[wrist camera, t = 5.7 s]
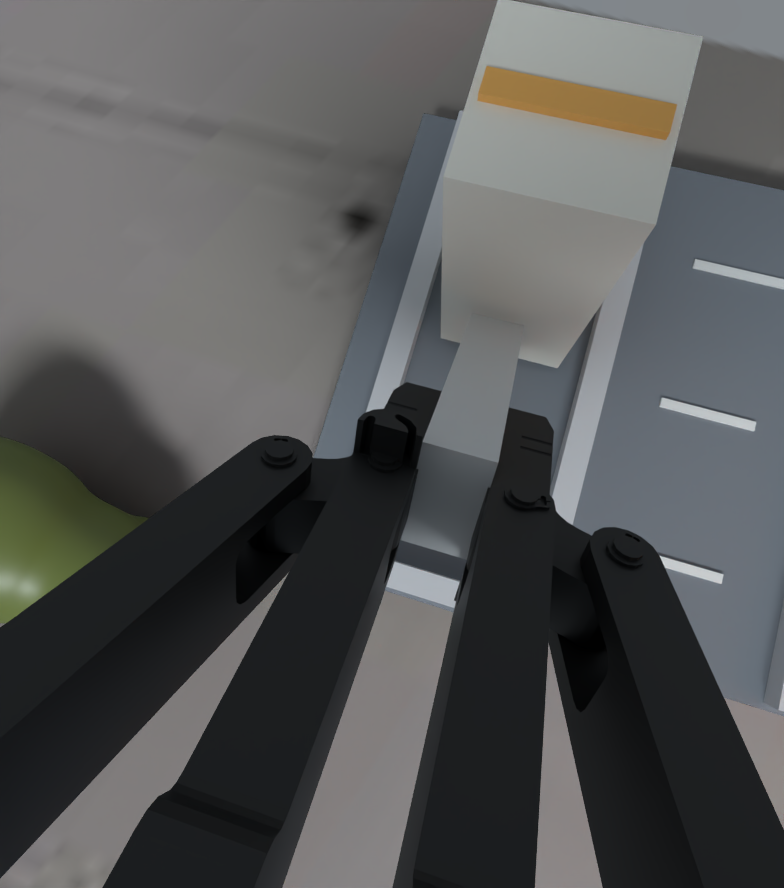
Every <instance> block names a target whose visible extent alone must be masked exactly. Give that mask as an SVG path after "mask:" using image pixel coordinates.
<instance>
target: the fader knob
mask: <svg viewBox="0 0 784 888" xmlns="http://www.w3.org/2000/svg"><path fill="white" fill-rule="evenodd" d="M702 40H703V36H698V35H693V34H687V33H682V32H677V31H671V30H666V29H661V28H655V27H650V26H645V25H639V24H634V23H629V22H623V21H618V20H613V19H607V18H602V17H597V16H591V15H586V14H581V13H575V12H570V11H565V10H559V9H554V8H549V7H543V6H538V5H533V4H527V3H522V2H517V1H511V0H498V2H497V5H496V8H495V11H494V14H493V18H492V21H491V24H490V27H489V31H488V34H487V37H486V40H485V44H484V47H483V50H482V53H481V56H480V60H479V63H478V66H477V69H476V73H475V76H474V79H473V82H472V85H471V89H470V92H469V95H468V98H467V102H466V105H465V108H464V111H463V115H462V118H461V121H460V124H459V127H458V131H457V134H456V137H455V140H454V144H453V147H452V150H451V153H450V156H449V160H448V163H447V166H446V169H445V173H444V176H443V221H442V282H441V338H442V339H446V340H450V341H454V342H458V343H461V340H462V338H463V335H464V332H465V330H466V327H467V325H468V322H469V319H470V317H471V314H472V313H475V314H479V315H483V316H487V317H491V318H495V319H499V320H503V321H507V322H511V323H515V324H519V325H523V326H524V330H523V335H522V341H521V346H520V351H519V356H518V358H519V359H523V360H527V361H531V362H535V363H539V364H542V365H546V366H550V367H554V368H558V367H559V365H560V364H561V362H562V361H563V360H564V358H565V357H566V355H567V354H568V352H569V351H570V349H571V348H572V346H573V345H574V344H575V342H576V341H577V339H578V338H579V336H580V335H581V333H582V332H583V330H584V329H585V327H586V326H587V325H588V323H589V322H590V320H591V319H592V317H593V316H594V314H595V313H596V311H597V310H598V309H599V307H600V306H601V304H602V303H603V301H604V300H605V298H606V297H607V295H608V294H609V293H610V291H611V290H612V288H613V287H614V285H615V284H616V282H617V281H618V279H619V278H620V277H621V275H622V274H623V272H624V271H625V269H626V268H627V266H628V265H629V263H630V262H631V261H632V259H633V258H634V256H635V255H636V253H637V252H638V250H639V249H640V247H641V246H642V245H643V243H644V242H645V240H646V239H647V237H648V236H649V234H650V233H651V231H652V230H653V229H654V227H655V226H656V223H657V219H658V215H659V211H660V207H661V203H662V199H663V195H664V191H665V187H666V183H667V179H668V175H669V171H670V167H671V163H672V159H673V155H674V151H675V147H676V143H677V139H678V135H679V131H680V127H681V123H682V120H683V116H684V112H685V108H686V104H687V100H688V96H689V92H690V88H691V84H692V80H693V76H694V72H695V68H696V64H697V60H698V56H699V52H700V48H701V44H702Z"/></svg>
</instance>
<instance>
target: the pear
mask: <svg viewBox="0 0 784 888" xmlns="http://www.w3.org/2000/svg"><path fill="white" fill-rule="evenodd" d="M148 519H149V518H146V517H140V516H134V515H131V514H128V513H126V512H124V511H122V510H120V509H118V508H116V507H114V506H112V505H110V504H108V503H106V502H104V501H103V500H101V499H99V498H97V497H96V496H94V495H93V494H92V493H91V492H90V491H89V490H88V489H87V488H86V487H85V486H84V484H83V483H82V482H81V481H80V480H79V479H78V478H77V477H76V476H75V475H74V474H73V473H72V472H71V471H70V470H69V469H68V468H66V467H65V466H64V465H62V464H61V463H59V462H58V461H56V460H54V459H53V458H51V457H49V456H48V455H46V454H44V453H42V452H40V451H38V450H36V449H34V448H32V447H30V446H27V445H25V444H22V443H20V442H17V441H14V440H11V439H7V438H4V437H0V623H7V622H9V621H10V620H11V619H13V618H14V617H16V616H17V615H18V614H20V613H21V612H22V611H24V610H25V609H26V608H28V607H29V606H30V605H32V604H33V603H35V602H36V601H37V600H39V599H40V598H41V597H43V596H44V595H45V594H47V593H48V592H50V591H51V590H52V589H54V588H55V587H56V586H58V585H59V584H60V583H62V582H63V581H65V580H66V579H67V578H69V577H70V576H71V575H73V574H74V573H75V572H77V571H78V570H79V569H81V568H82V567H84V566H85V565H86V564H88V563H89V562H90V561H92V560H93V559H94V558H96V557H97V556H99V555H100V554H101V553H103V552H104V551H105V550H107V549H108V548H109V547H111V546H112V545H114V544H115V543H116V542H118V541H119V540H120V539H122V538H123V537H124V536H126V535H127V534H128V533H130V532H131V531H133V530H134V529H135V528H137V527H138V526H139V525H141V524H142V523H143V522H145V521H146V520H148Z"/></svg>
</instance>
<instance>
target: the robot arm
mask: <svg viewBox="0 0 784 888" xmlns="http://www.w3.org/2000/svg"><path fill="white" fill-rule="evenodd" d="M523 330H524V326H523V325H519V324H515V323H511V322H507V321H503V320H499V319H495V318H491V317H487V316H483V315H479V314H475V313H472V314H471V317H470V319H469V322H468V325H467V327H466V330H465V332H464V335H463V338H462V340H461V343H460V345H459V348H458V351H457V353H456V356H455V359H454V361H453V364H452V366H451V369H450V372H449V374H448V377H447V379H446V382H445V385H444V387H443V390H442V391H439V390H435V389H432V388H428V387H424V386H420V385H416V384H413V383H409V382H406V383H404V384H403V385H401V386H399V387H398V388H396V389H394V390H393V392H392V394H391V396H390V398H389V400H388V402H387V404H386V406H385V407H384V409H374V410H371V411H368V412H366V413H364V414H362V415H361V416H360V417H359V418H358V421H357V428H356V436H355V443H354V450H353V453H352V455H351V456H348V457H344V458H339V459H323V458H312V452H311V450H310V449H309V447H308V446H307V445H306V444H304V443H303V442H301V441H300V440H298V439H295V438H292V437H289V436H277V435H274V436H268V437H263V438H260V439H258V440H256V441H254V442H252V443H251V444H250V445H248V446H247V447H246V448H244V449H243V450H241V451H240V452H239V453H237V454H236V455H235V456H233V457H232V458H231V459H229V460H228V461H226V462H225V463H224V464H222V465H221V466H220V467H218V468H217V469H216V470H214V471H213V472H212V473H210V474H209V475H207V476H206V477H205V478H203V479H202V480H201V481H199V482H198V483H197V484H195V485H194V486H192V487H191V488H190V489H188V490H187V491H186V492H184V493H183V494H182V495H180V496H179V497H177V498H176V499H175V500H173V501H172V502H171V503H169V504H168V505H167V506H165V507H164V508H163V509H161V510H160V511H158V512H157V513H156V514H154V515H153V516H152V517H150V518H149V519H148V520H146V521H145V522H143V523H142V524H141V525H139V526H138V527H137V528H135V529H134V530H133V531H131V532H130V533H128V534H127V535H126V536H124V537H123V538H122V539H120V540H119V541H118V542H116V543H115V544H114V545H112V546H111V547H109V548H108V549H107V550H105V551H104V552H103V553H101V554H100V555H99V556H97V557H96V558H94V559H93V560H92V561H90V562H89V563H88V564H86V565H85V566H84V567H82V568H81V569H79V570H78V571H77V572H75V573H74V574H73V575H71V576H70V577H69V578H67V579H66V580H65V581H63V582H62V583H60V584H59V585H58V586H56V587H55V588H54V589H52V590H51V591H50V592H48V593H47V594H45V595H44V596H43V597H41V598H40V599H39V600H37V601H36V602H35V603H33V604H32V605H30V606H29V607H28V608H26V609H25V610H24V611H22V612H21V613H20V614H18V615H17V616H16V617H14V618H13V619H11V620H10V621H9V622H7V623H6V624H5V625H3V626H2V627H1V628H0V878H1V877H2V876H3V875H4V874H5V873H6V872H7V871H8V870H9V869H10V867H11V866H12V865H13V864H14V863H15V862H16V861H17V860H18V859H19V858H20V857H21V856H22V855H23V854H24V853H25V852H26V850H27V849H28V848H29V847H30V846H31V845H32V844H33V843H34V842H35V841H36V840H37V839H38V838H39V837H40V836H41V835H42V834H43V832H44V831H45V830H46V829H47V828H48V827H49V826H50V825H51V824H52V823H53V822H54V821H55V820H56V819H57V818H58V817H59V815H60V814H61V813H62V812H63V811H64V810H65V809H66V808H67V807H68V806H69V805H70V804H71V803H72V802H73V801H74V800H75V798H76V797H77V796H78V795H79V794H80V793H81V792H82V791H83V790H84V789H85V788H86V787H87V786H88V785H89V784H90V783H91V781H92V780H93V779H94V778H95V777H96V776H97V775H98V774H99V773H100V772H101V771H102V770H103V769H104V768H105V767H106V766H107V765H108V763H109V762H110V761H111V760H112V759H113V758H114V757H115V756H116V755H117V754H118V753H119V752H120V751H121V750H122V749H123V748H124V746H125V745H126V744H127V743H128V742H129V741H130V740H131V739H132V738H133V737H134V736H135V735H136V734H137V733H138V732H139V731H140V729H141V728H142V727H143V726H144V725H145V724H146V723H147V722H148V721H149V720H150V719H151V718H152V717H153V716H154V715H155V714H156V713H157V711H158V710H159V709H160V708H161V707H162V706H163V705H164V704H165V703H166V702H167V701H168V700H169V699H170V698H171V697H172V696H173V694H174V693H175V692H176V691H177V690H178V689H179V688H180V687H181V686H182V685H183V684H184V683H185V682H186V681H187V680H188V679H189V677H190V676H191V675H192V674H193V673H194V672H195V671H196V670H197V669H198V668H199V667H200V666H201V665H202V664H203V663H204V662H205V660H206V659H207V658H208V657H209V656H210V655H211V654H212V653H213V652H214V651H215V650H216V649H217V648H218V647H219V646H220V645H221V644H222V642H223V641H224V640H225V639H226V638H227V637H228V636H229V635H230V634H231V633H232V632H233V631H234V630H235V629H236V628H237V627H238V625H239V624H240V623H241V622H242V621H243V620H244V619H245V618H246V617H247V616H248V615H249V614H250V613H251V612H252V611H253V610H254V608H255V607H256V606H257V605H258V604H259V603H260V602H261V601H262V600H263V599H264V598H265V597H266V596H267V595H268V594H269V593H270V592H271V590H272V589H273V588H274V587H275V586H276V585H277V584H278V583H279V582H280V581H281V580H282V579H283V578H284V577H285V576H286V575H287V573H288V572H289V571H290V572H289V574H288V575H287V577H286V579H285V581H284V583H283V585H282V587H281V589H280V590H279V592H278V594H277V596H276V598H275V600H274V602H273V604H272V605H271V607H270V609H269V611H268V613H267V615H266V617H265V619H264V620H263V622H262V624H261V626H260V628H259V630H258V632H257V634H256V635H255V637H254V639H253V641H252V643H251V645H250V647H249V649H248V650H247V652H246V654H245V656H244V658H243V660H242V662H241V664H240V665H239V667H238V669H237V671H236V673H235V675H234V677H233V679H232V680H231V682H230V684H229V686H228V688H227V690H226V692H225V694H224V695H223V697H222V699H221V701H220V703H219V705H218V707H217V709H216V710H215V712H214V714H213V716H212V718H211V720H210V722H209V724H208V725H207V727H206V729H205V731H204V733H203V735H202V737H201V739H200V740H199V742H198V744H197V746H196V748H195V750H194V752H193V754H192V755H191V757H190V759H189V761H188V763H187V765H186V767H185V769H184V770H183V772H182V774H181V776H180V777H179V779H178V781H177V782H176V784H175V785H174V786H173V787H172V788H171V790H169V791H167V792H166V793H164V794H162V795H160V796H158V797H157V799H156V800H155V801H154V802H153V803H152V804H151V806H150V807H149V808H148V809H147V811H146V812H145V814H144V816H143V817H142V819H141V820H140V822H139V824H138V825H137V827H136V828H135V830H134V832H133V834H132V836H131V837H130V839H129V841H128V843H127V845H126V846H125V848H124V850H123V852H122V854H121V855H120V857H119V859H118V861H117V863H116V864H115V866H114V868H113V870H112V872H111V873H110V875H109V877H108V879H107V881H106V882H105V884H104V886H103V888H282V887H283V884H284V881H285V878H286V875H287V872H288V869H289V866H290V863H291V861H292V858H293V855H294V852H295V849H296V846H297V843H298V840H299V837H300V834H301V832H302V829H303V826H304V823H305V820H306V817H307V814H308V811H309V808H310V806H311V803H312V800H313V797H314V794H315V791H316V788H317V785H318V782H319V779H320V777H321V774H322V771H323V768H324V765H325V762H326V759H327V756H328V753H329V751H330V748H331V745H332V742H333V739H334V736H335V733H336V730H337V727H338V724H339V722H340V719H341V716H342V713H343V710H344V707H345V704H346V701H347V698H348V696H349V693H350V690H351V687H352V684H353V681H354V678H355V675H356V672H357V670H358V667H359V664H360V661H361V658H362V655H363V652H364V649H365V646H366V643H367V641H368V638H369V635H370V632H371V629H372V626H373V623H374V620H375V617H376V615H377V612H378V609H379V606H380V603H381V600H382V597H383V594H384V591H385V588H386V586H387V583H388V580H389V577H390V574H391V571H392V568H393V565H394V562H395V560H396V556H397V551H398V547H399V542H400V539H401V540H402V541H405V542H409V543H412V544H416V545H419V546H422V547H426V548H429V549H432V550H436V551H439V552H442V553H446V554H449V555H453V556H456V557H459V558H463V559H466V560H467V561H466V565H465V568H464V571H463V574H462V577H461V580H460V583H459V586H458V589H457V592H456V595H455V598H454V601H456V604H455V608H454V613H453V617H452V622H451V626H450V631H449V635H448V640H447V644H446V649H445V653H444V658H443V662H442V667H441V671H440V676H439V680H438V685H437V689H436V694H435V698H434V703H433V707H432V712H431V717H430V721H429V726H428V730H427V735H426V739H425V744H424V748H423V753H422V757H421V762H420V766H419V771H418V775H417V780H416V784H415V789H414V793H413V798H412V802H411V807H410V811H409V816H408V820H407V825H406V829H405V834H404V838H403V843H402V847H401V852H400V857H399V861H398V866H397V870H396V875H395V879H394V884H393V888H535V872H536V854H537V836H538V819H539V801H540V783H541V765H542V747H543V729H544V711H545V693H546V675H547V657H548V641H549V646H550V650H551V655H552V659H553V664H554V668H555V673H556V677H557V682H558V686H559V691H560V695H561V700H562V705H563V709H564V714H565V718H566V723H567V727H568V732H569V736H570V741H571V745H572V750H573V754H574V759H575V764H576V768H577V773H578V777H579V782H580V786H581V791H582V795H583V800H584V804H585V809H586V813H587V818H588V822H589V827H590V832H591V836H592V841H593V845H594V850H595V854H596V859H597V863H598V868H599V872H600V877H601V881H602V886H603V888H784V829H783V827H782V825H781V823H780V821H779V818H778V816H777V814H776V812H775V810H774V807H773V805H772V803H771V801H770V799H769V796H768V794H767V792H766V790H765V788H764V785H763V783H762V781H761V779H760V777H759V774H758V772H757V770H756V768H755V765H754V763H753V761H752V759H751V757H750V754H749V752H748V750H747V748H746V746H745V743H744V741H743V739H742V737H741V735H740V732H739V730H738V728H737V726H736V724H735V721H734V719H733V717H732V715H731V712H730V710H729V708H728V706H727V704H726V701H725V699H724V697H723V695H722V693H721V690H720V688H719V686H718V684H717V682H716V679H715V677H714V675H713V673H712V671H711V668H710V666H709V664H708V662H707V660H706V657H705V655H704V653H703V651H702V648H701V646H700V644H699V642H698V640H697V637H696V635H695V633H694V631H693V629H692V626H691V624H690V622H689V620H688V618H687V615H686V613H685V611H684V609H683V607H682V604H681V602H680V600H679V598H678V596H677V593H676V591H675V589H674V587H673V584H672V582H671V580H670V578H669V576H668V573H667V571H666V569H665V567H664V565H663V562H662V560H661V558H660V556H659V555H658V553H657V552H656V550H655V549H654V547H653V546H652V545H651V544H649V543H648V542H647V541H646V540H645V539H643V538H642V537H641V536H639V535H637V534H635V533H633V532H631V531H629V530H625V529H621V528H617V527H603V528H601V529H599V530H596V531H594V533H593V535H592V536H591V535H590V534H588V533H586V532H584V531H582V530H580V529H578V528H576V527H575V526H573V525H571V524H570V523H568V522H567V521H566V520H564V519H563V518H562V517H561V516H560V515H559V514H558V513H557V511H556V507H555V503H554V499H553V498H552V497H551V495H550V483H551V468H552V453H553V438H554V430H553V428H552V426H551V425H550V423H549V421H548V419H547V418H546V417H544V416H540V415H536V414H532V413H529V412H525V411H521V410H517V409H513V408H510V407H509V404H510V398H511V393H512V388H513V383H514V377H515V372H516V367H517V362H518V356H519V351H520V346H521V341H522V335H523ZM401 536H402V537H401Z"/></svg>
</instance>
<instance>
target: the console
mask: <svg viewBox="0 0 784 888" xmlns="http://www.w3.org/2000/svg"><path fill="white" fill-rule="evenodd" d="M462 115H463V111H461V110H460V111H459V114H458V118H457V120H453V119H449V118H444V117H439V116H434V115H430V114H425V113H424V114H423V117H422V120H421V123H420V126H419V129H418V132H417V136H416V139H415V142H414V145H413V148H412V151H411V154H410V157H409V161H408V164H407V167H406V170H405V173H404V176H403V179H402V182H401V186H400V189H399V192H398V195H397V198H396V201H395V204H394V207H393V211H392V214H391V217H390V220H389V223H388V226H387V229H386V232H385V236H384V239H383V242H382V245H381V248H380V251H379V254H378V257H377V261H376V264H375V267H374V270H373V273H372V276H371V279H370V282H369V285H368V289H367V292H366V295H365V298H364V301H363V304H362V307H361V310H360V314H359V317H358V320H357V323H356V326H355V329H354V332H353V335H352V339H351V342H350V345H349V348H348V351H347V354H346V357H345V360H344V364H343V367H342V370H341V373H340V376H339V379H338V382H337V385H336V389H335V392H334V395H333V398H332V401H331V404H330V407H329V410H328V414H327V417H326V420H325V423H324V426H323V429H322V432H321V435H320V439H319V442H318V445H317V448H316V451H315V454H314V457H313V458H323V459H339V458H344V457H348V456H351V455H352V453H353V450H354V443H355V436H356V428H357V421H358V418H359V417H360V416H361V415H362V414H364V413H366V412H368V411H371V410H374V409H384V407H385V406H386V404H387V402H388V400H389V398H390V396H391V394H392V392H393V390H394V389H396V388H398V387H399V386H401V385H403V384H404V383H406V382H409V383H413V384H416V385H420V386H424V387H428V388H432V389H435V390H439V391H442V390H443V387H444V385H445V382H446V379H447V377H448V374H449V372H450V369H451V366H452V364H453V361H454V359H455V356H456V353H457V351H458V348H459V345H460V343H458V342H454V341H450V340H446V339H442V338H441V282H442V221H443V176H444V173H445V169H446V166H447V163H448V160H449V156H450V153H451V150H452V147H453V144H454V140H455V137H456V134H457V131H458V127H459V124H460V121H461V118H462ZM509 407H510V408H513V409H517V410H521V411H525V412H529V413H532V414H536V415H540V416H544V417H546V418H547V419H548V421H549V423H550V425H551V426H552V428H553V430H554V438H553V453H552V468H551V483H550V495H551V497H552V498H553V499H554V503H555V507H556V511H557V513H558V514H559V515H560V516H561V517H562V518H563V519H564V520H566V521H567V522H568V523H570V524H571V525H573V526H575V527H576V528H578V529H580V530H582V531H584V532H586V533H588V534H590V535H591V536H592V535H593V533H594V531H596V530H599V529H601V528H603V527H617V528H621V529H625V530H629V531H631V532H633V533H635V534H637V535H639V536H641V537H642V538H643V539H645V540H646V541H647V542H648V543H649V544H651V545H652V546H653V547H654V549H655V550H656V552H657V553H658V555H659V556H660V558H661V560H662V562H663V565H664V567H665V569H666V571H667V573H668V576H669V578H670V580H671V582H672V584H673V587H674V589H675V591H676V593H677V596H678V598H679V600H680V602H681V604H682V607H683V609H684V611H685V613H686V615H687V618H688V620H689V622H690V624H691V626H692V629H693V631H694V633H695V635H696V637H697V640H698V642H699V644H700V646H701V648H702V651H703V653H704V655H705V657H706V660H707V662H708V664H709V666H710V668H711V671H712V673H713V675H714V677H715V679H716V682H717V684H718V686H719V688H720V690H721V693H722V695H723V697H724V698H727V699H731V700H734V701H737V702H740V703H743V704H747V705H750V706H753V707H756V708H759V709H762V710H766V711H769V712H772V713H775V714H778V715H781V716H784V190H780V189H775V188H771V187H766V186H761V185H757V184H752V183H747V182H743V181H738V180H733V179H729V178H724V177H719V176H715V175H710V174H705V173H701V172H696V171H691V170H687V169H682V168H677V167H673V166H671V167H670V171H669V175H668V179H667V183H666V187H665V191H664V195H663V199H662V203H661V207H660V211H659V215H658V219H657V223H656V226H655V227H654V229H653V230H652V231H651V233H650V234H649V236H648V237H647V239H646V240H645V242H644V243H643V245H642V246H641V247H640V249H639V250H638V252H637V253H636V255H635V256H634V258H633V259H632V261H631V262H630V263H629V265H628V266H627V268H626V269H625V271H624V272H623V274H622V275H621V277H620V278H619V279H618V281H617V282H616V284H615V285H614V287H613V288H612V290H611V291H610V293H609V294H608V295H607V297H606V298H605V300H604V301H603V303H602V304H601V306H600V307H599V309H598V310H597V311H596V313H595V314H594V316H593V317H592V319H591V320H590V322H589V323H588V325H587V326H586V327H585V329H584V330H583V332H582V333H581V335H580V336H579V338H578V339H577V341H576V342H575V344H574V345H573V346H572V348H571V349H570V351H569V352H568V354H567V355H566V357H565V358H564V360H563V361H562V362H561V364H560V365H559V367H558V368H554V367H550V366H546V365H542V364H539V363H535V362H531V361H527V360H523V359H519V358H518V362H517V367H516V372H515V377H514V383H513V388H512V393H511V398H510V404H509ZM401 537H402V536H401ZM466 561H467V560H466V559H463V558H459V557H456V556H453V555H449V554H446V553H442V552H439V551H436V550H432V549H429V548H426V547H422V546H419V545H416V544H412V543H409V542H405V541H402V540H401V539H400V542H399V547H398V551H397V556H396V560H395V562H394V565H393V568H392V571H391V574H390V577H389V580H388V583H387V586H386V588H385V591H388V592H391V593H394V594H398V595H401V596H404V597H407V598H410V599H413V600H417V601H420V602H423V603H426V604H429V605H432V606H436V607H439V608H442V609H445V610H448V611H451V612H454V608H455V604H456V601H454V598H455V595H456V592H457V589H458V586H459V583H460V580H461V577H462V574H463V571H464V568H465V565H466ZM548 642H549V641H548Z"/></svg>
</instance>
